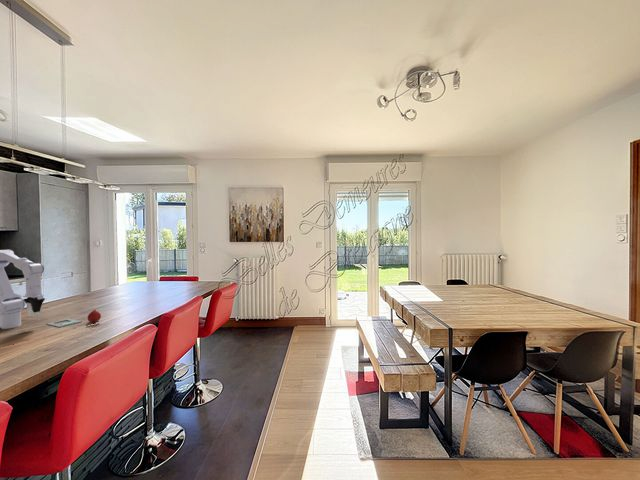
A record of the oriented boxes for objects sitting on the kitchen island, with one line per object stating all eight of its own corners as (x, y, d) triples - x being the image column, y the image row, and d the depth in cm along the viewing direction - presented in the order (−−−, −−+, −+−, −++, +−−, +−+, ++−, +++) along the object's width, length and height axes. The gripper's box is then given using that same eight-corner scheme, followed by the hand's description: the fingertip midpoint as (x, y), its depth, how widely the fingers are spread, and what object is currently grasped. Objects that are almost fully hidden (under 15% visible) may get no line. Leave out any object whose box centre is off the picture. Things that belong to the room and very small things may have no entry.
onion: (93, 325, 151) (92, 311, 151) (85, 324, 152) (84, 310, 152) (103, 322, 156) (103, 308, 156) (95, 321, 158) (95, 308, 157)
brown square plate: (18, 331, 142) (18, 329, 142) (41, 326, 150) (41, 324, 150) (27, 333, 138) (26, 331, 138) (50, 328, 147) (50, 326, 147)
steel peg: (26, 315, 143) (26, 302, 143) (38, 313, 147) (37, 300, 147) (30, 316, 141) (30, 303, 141) (42, 314, 145) (41, 301, 145)
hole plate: (46, 326, 150) (46, 323, 150) (68, 320, 159) (68, 318, 159) (59, 329, 145) (59, 326, 145) (82, 323, 154) (82, 320, 154)
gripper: (16, 286, 143) (17, 312, 144) (30, 288, 138) (30, 314, 138) (34, 284, 150) (35, 308, 150) (48, 286, 144) (48, 311, 144)
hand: (34, 311), depth 144 cm, fingers closed on steel peg, 4 cm apart
